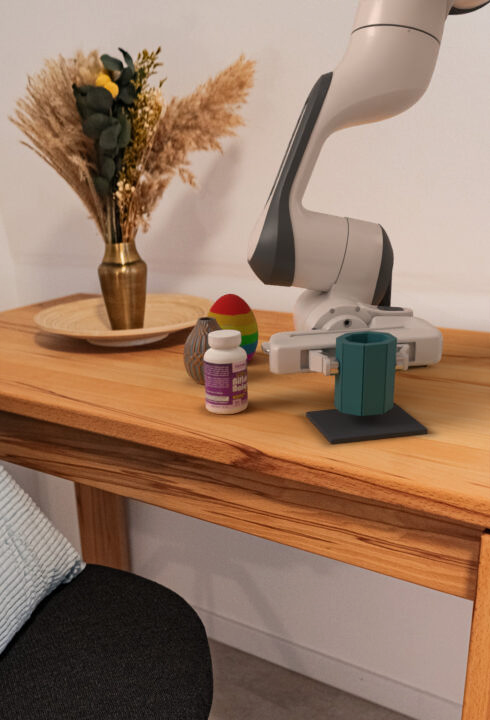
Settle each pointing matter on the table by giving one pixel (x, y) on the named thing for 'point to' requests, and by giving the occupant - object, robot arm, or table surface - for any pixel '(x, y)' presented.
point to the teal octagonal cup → (365, 373)
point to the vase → (198, 348)
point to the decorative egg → (237, 320)
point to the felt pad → (364, 425)
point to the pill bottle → (225, 373)
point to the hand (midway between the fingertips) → (367, 366)
